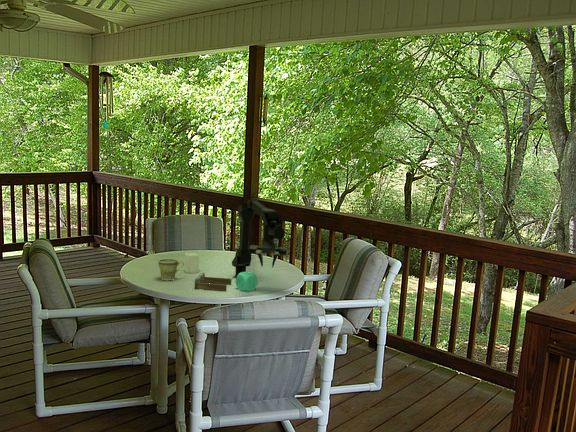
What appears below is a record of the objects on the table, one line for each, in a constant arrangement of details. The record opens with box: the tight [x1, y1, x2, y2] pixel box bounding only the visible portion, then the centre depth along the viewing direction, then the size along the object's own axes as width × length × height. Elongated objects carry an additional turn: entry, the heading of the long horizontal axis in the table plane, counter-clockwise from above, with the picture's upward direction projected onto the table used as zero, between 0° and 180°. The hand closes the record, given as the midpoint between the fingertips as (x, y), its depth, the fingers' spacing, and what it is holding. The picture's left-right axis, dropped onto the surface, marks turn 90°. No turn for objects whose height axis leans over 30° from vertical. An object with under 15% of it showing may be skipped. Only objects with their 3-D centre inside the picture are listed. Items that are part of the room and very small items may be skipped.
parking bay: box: [194, 272, 232, 292], centre depth 277 cm, size 14×16×5 cm
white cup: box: [184, 252, 200, 274], centre depth 305 cm, size 8×8×10 cm
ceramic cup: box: [157, 258, 185, 281], centre depth 287 cm, size 13×10×10 cm
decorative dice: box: [235, 271, 259, 292], centre depth 276 cm, size 8×8×8 cm
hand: (267, 267), depth 274 cm, fingers open, 5 cm apart
